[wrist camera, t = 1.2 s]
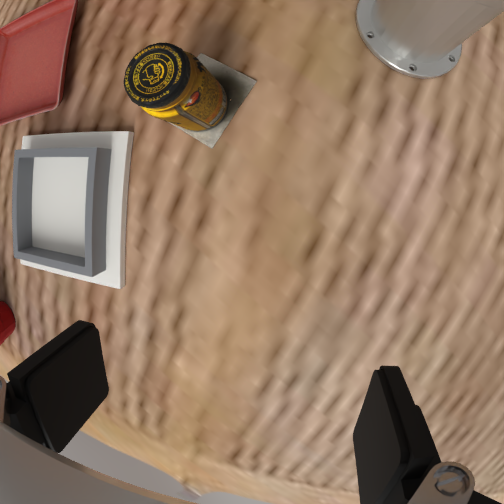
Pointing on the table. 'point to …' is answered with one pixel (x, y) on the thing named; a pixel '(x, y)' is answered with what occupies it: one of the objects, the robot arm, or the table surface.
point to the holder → (73, 204)
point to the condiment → (186, 90)
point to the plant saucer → (35, 60)
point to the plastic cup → (6, 321)
